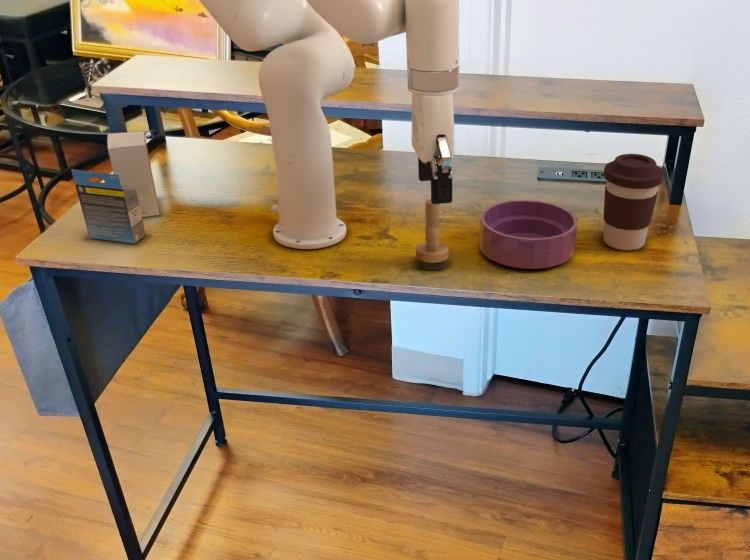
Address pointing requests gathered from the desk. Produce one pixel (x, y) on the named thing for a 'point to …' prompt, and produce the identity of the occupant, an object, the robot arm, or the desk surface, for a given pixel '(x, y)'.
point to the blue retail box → (109, 208)
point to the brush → (432, 242)
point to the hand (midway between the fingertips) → (435, 191)
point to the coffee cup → (630, 200)
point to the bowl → (527, 234)
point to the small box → (134, 168)
